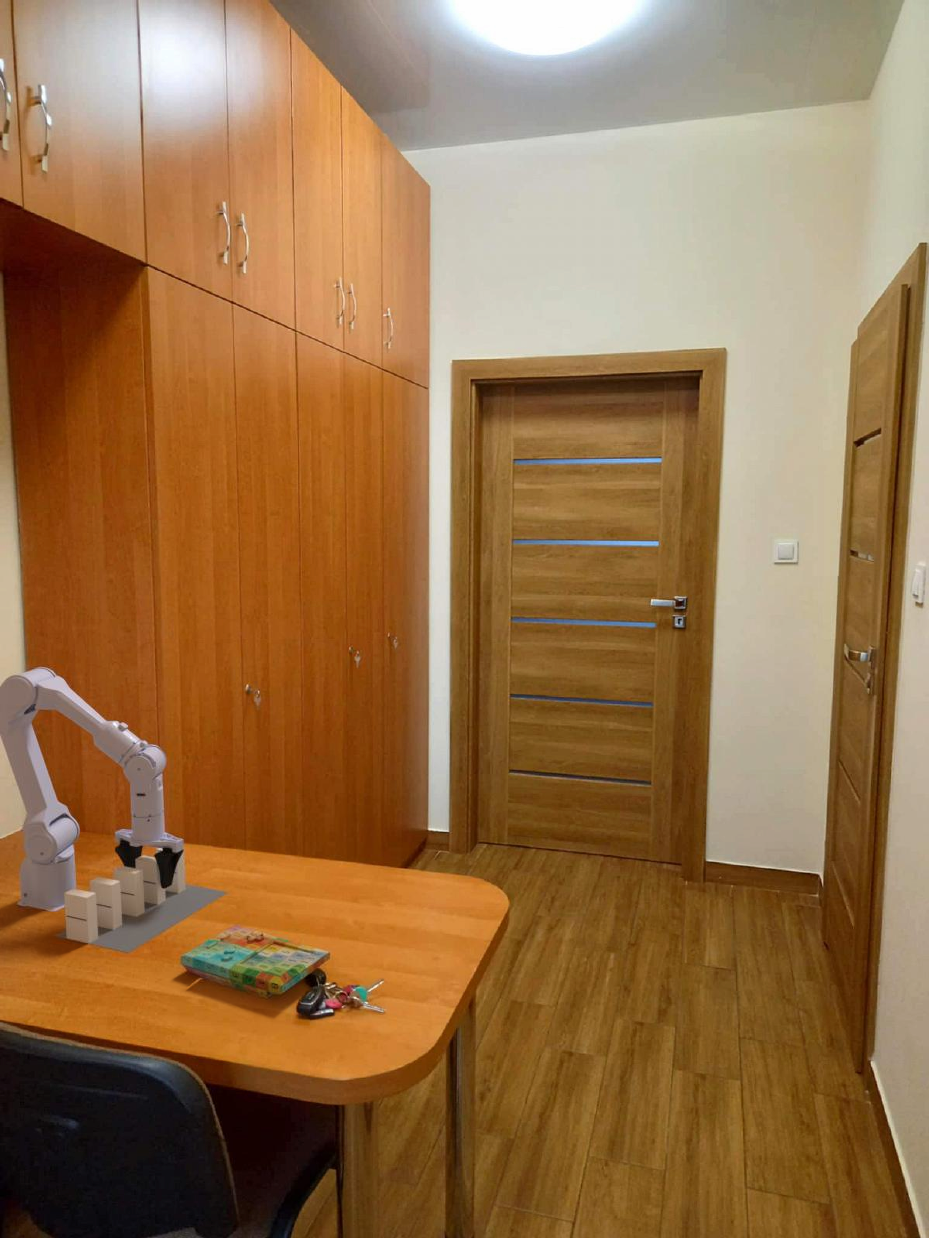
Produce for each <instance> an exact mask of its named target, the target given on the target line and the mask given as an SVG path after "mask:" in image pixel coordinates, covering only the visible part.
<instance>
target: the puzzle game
mask: <svg viewBox="0 0 929 1238" xmlns="http://www.w3.org/2000/svg"><path fill="white" fill-rule="evenodd" d="M330 959H331V952H330V951H328V950H325V949H324V950H323V949H320V948H316V947H313V946H311V945H310V946H309V945H306V944H303V943H299V942H296V941H292V940H289V939H285V938H282V937H278V936H275V935H271V934H268V933H264V932H261V931H258V930H254V929H251V928H246V927H243V926H240V925H237V924H236V925H232V926H230V927H229V928H228V929H225V930H224V931H222V932H220V933H219V934H217V935H216V936H213V937H211V938H210V939H208V940H206V941H205V942H203V943H201V944H199V945H198V946H195V947H194V948H193V949H191V950H189V951H188V952H186V953H184V954H182V955H180V965H181V966H183V967H184V968H185V970H186V971H187V972H189V973H190V974H192V975H197V976H199V978H201V979H203V980H205V981H206V980H207V981H210V982H214V983H215V984H219V985H222V986H225V987H229V988H231V989H235V990H239V991H240V992H241V991H242V992H245V993H248V994H251V995H254V996H256V997H257V996H258V997H260V998H264V999H267V1000H268V999H269V998H270V997H272V996H273V995H277V996H279V995H282V994H283V993H286V991H288V990H289V989H290V988H292V987H293V986H295V985H296V984H298V983H299V982H301V980H303V979H304V978H305V977H307V976H308V975H309V974H311V973H313V972H314V971H315V970H317V969H318V968H319V967H320V966H322V965H323V964H325V963H326V962H328V961H329V960H330Z"/></svg>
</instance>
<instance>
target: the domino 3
mask: <svg viewBox="0 0 929 1238" xmlns="http://www.w3.org/2000/svg"><path fill="white" fill-rule="evenodd" d="M112 873H113V880H117V881H120V889H121V910H122V914H126V915H131V916H135V917H137V916H139V915H141V914H143V913H144V912H145V909H144V886H143V870H141V869H136V868H131V867H125V866H124V865H120V866H118V867H116V868H114V869H113V870H112Z"/></svg>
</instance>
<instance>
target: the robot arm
mask: <svg viewBox="0 0 929 1238" xmlns="http://www.w3.org/2000/svg"><path fill="white" fill-rule="evenodd" d="M39 710H42V711H43V710H45V711H46V710H47V711H50V710H51V711H55V710H56V711H58V712H59V713H60V714H62V715H63V716H64V717H66V718H68V719H69V720H71V722H74V723H75V724H76V725H77V726H79V727H81V728H82V729H83V730H85V731H86V732H88V733H89V734H90V735H92V738H93V745H94V746H95V747H96V748H97V749H99V750H100V751H101V752H103V753H104V755H106V756H107V757H109V758H110V759H112V760H113V762H115V763H116V764H118V765H119V766H120V767H122V771H123V774H124V777H125V779H127V781H128V782H129V786H130V787H129V791H130V792H129V794H130V813H131V814H130V815H131V817H130V818H131V829H125V828H124V829H123V828H121V829H120V830H117V831H115V832H114V840H115V841H114V842H115V843H119V844H118V845H117V846H115V847H114V852H115V853H116V854H117V856H118V857H119V859H120V860H121V862H122V866H125V867H131V868H136V862H135V859H137V858H139V857H141V856H142V853H143V848H144V846H145V847H151V848H156V849H157V848H162V849H163V851H160V852H158V853H154V858H155V859H156V861H157V864H158V867H159V872H160V883H161V887H162V888H163V889H165V888H167V887H169V886H171V885H172V882H173V877H174V873H175V869H176V866H177V863H178V861H179V859H180V857H181V855H182V853H183V851H184V852H185V848H184V847H185V846H184V839H183V838H179V837H176V836H175V835H172V834H170V833H168V832H166V829H165V827H166V826H165V806H164V804H165V803H164V801H165V800H164V783H163V773H162V772H163V771H164V770H165V768H166V766H167V762H168V761H167V756H166V754H165V752H164V750H162V748H161V747H160V746H158V745H156V744H149V743H148V742H147V741H146V740H142V739H140V737H138V736H137V735H136V734H134V733H133V732H131V731H130V730H129V729H128V728H129V725H128V724H127V723H125V722H121V723H120V722H119V721H117V720H106V719H105V718H104V717H102V716H101V714H99V713H98V712H97V711H96V710H95V709H94V708H93V707H92V706H90V705H89V704H88V703H87V702H86V701H85V700H84V699H83V698H82V697H81V696H79V695H78V694H77V693H76V692H74V690H73V689H71V688H70V686H69V685H68V683H67V682H66V680H65V679H64V678H63V677H61V676H59V675H57V674H56V673H55V672H54V670H52V669H50V668H48V667H43V666H40V667H39V666H37V667H35V668H33V669H31V670H28V671H25V672H22V673H18V674H14V675H9V676H8V677H6V678H5V679H4V681H3V682H2V683H1V685H0V739H1V741H2V744H3V747H4V750H5V753H6V756H7V758H8V761H9V765H10V767H11V771H12V774H13V776H14V779H15V782H16V785H17V788H18V791H19V793H20V796H21V800H22V802H23V806H24V809H25V811H26V815H25V817H24V818H25V819H24V821H23V824H22V832H23V836H24V837H23V838H24V839H23V850H24V853H25V855H26V857H25V858H24V859H23V861H22V863H21V865H20V869H19V883H20V901H18V902H17V906H18V905H19V906H20V907H30V908H36V909H41V910H45V911H49V912H56V911H59V910H61V909H63V908H65V897H64V893H66V892H68V891H70V890H72V889H77V879H76V862H75V860H76V859H75V843H76V842H77V841H78V839H79V836H80V832H81V829H80V825H79V822H77V820H76V819H75V818H74V817H73V815H72V814H71V813H70V811H69V809H68V806H67V805H65V804H63V803H61V802H60V801H59V800H58V797H57V795H56V792H55V790H54V786H53V782H52V780H51V777H50V775H49V771H48V769H47V768H48V767H47V765H46V763H45V759H44V756H43V754H42V750H41V748H40V745H39V742H38V739H37V736H36V733H35V731H34V727H33V724H32V722H33V720H34V718H35V717H36V716H37V714H38V712H39Z"/></svg>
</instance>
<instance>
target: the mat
mask: <svg viewBox="0 0 929 1238" xmlns="http://www.w3.org/2000/svg"><path fill="white" fill-rule="evenodd" d="M185 886H186V889H185V890H183V891H182V892H180V893H175V892H170V891H165V896H166V901H164V902H162V903H160V904H159V905H157V904H152V903H147V902H144V909H145V912H144V913H143V914H141V915H139V916H137V917H135V916H131V915H126V914H122V925H121V926H119V927H118V928H116V929H114V930H112V929H108V928H104V927H99V926H98V939H96V940H95V941H93V942H91V943H87V944H89V945H93V946H96V947H100V948H105V949H109V950H114V951H117V952H118V951H119V952H121V953H126V954H130V953H131V952H133V951H134V950H136V949H138V948H139V947H142V946H143V945H144V944H147V943H148V942H149V941H151V940H153V939H154V938H156V937H157V936H159V935H161V934H162V933H164V932H166V931H167V930H169V929H171V928H172V927H174V926H176V925H177V924H180V923H181V922H182V921H184V920H185V919H187V918H189V917H190V916H192V915H194V914H195V913H197V912H198V911H201V910H202V909H203V908H205V907H207V906H209V905H210V904H211V903H213V902H216V900H218V899H219V898H222V897H223V896H225V895H227V894H228V893H229V892H228V891H223V890H219V889H213V888H207V887H203V886H197V885H193V884H188V883H187V884H186V883H185ZM55 937H58V938H63V939H65V940H66V939H67V934H66V930H64V931H62V932H61V933H59V934H56V935H55ZM67 940H68V939H67ZM70 940H71V941H73V940H72V939H70ZM74 942H77V941H76V940H74ZM78 942H80V941H78ZM80 943H81V942H80ZM82 943H84V942H82ZM84 944H85V943H84Z"/></svg>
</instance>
